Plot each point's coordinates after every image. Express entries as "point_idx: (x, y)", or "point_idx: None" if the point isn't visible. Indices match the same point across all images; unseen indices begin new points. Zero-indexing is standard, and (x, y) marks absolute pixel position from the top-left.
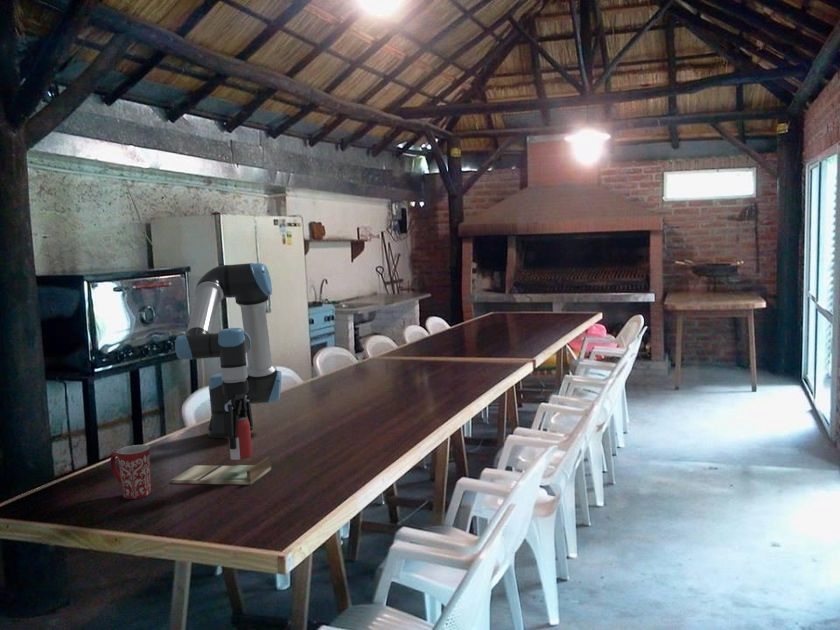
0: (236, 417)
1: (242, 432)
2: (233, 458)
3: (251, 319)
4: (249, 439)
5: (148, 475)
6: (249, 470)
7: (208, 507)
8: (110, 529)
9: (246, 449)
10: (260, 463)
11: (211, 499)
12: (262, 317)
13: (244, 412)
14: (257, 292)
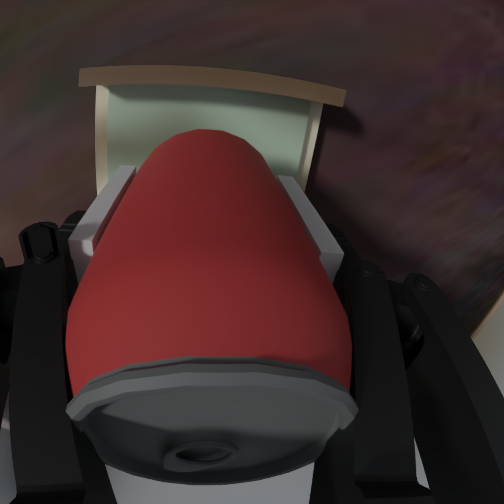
0: (411, 449)
1: (311, 247)
2: None
3: None
4: (218, 162)
5: None
6: (334, 95)
7: (481, 177)
8: (489, 310)
9: (255, 157)
10: (207, 69)
11: (435, 189)
12: None
13: (86, 490)
14: None
